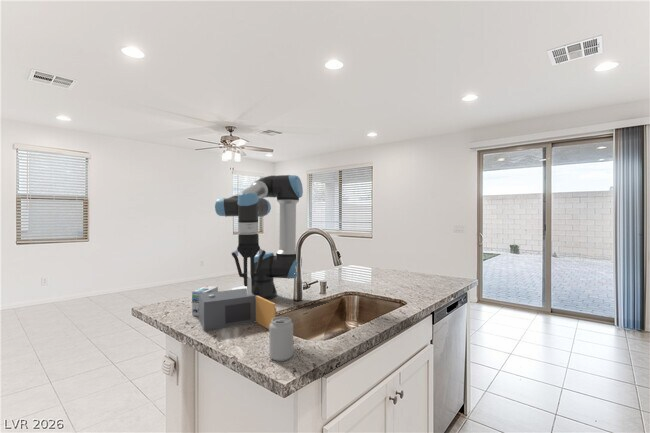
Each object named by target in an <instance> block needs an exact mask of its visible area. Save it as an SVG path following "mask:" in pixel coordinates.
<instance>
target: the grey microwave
mask: <svg viewBox="0 0 650 433" xmlns="http://www.w3.org/2000/svg"><path fill="white" fill-rule="evenodd" d="M198 321H199V323H200V325H201V327H202V329H203V330H202V331H203V332H208V331H213V330H218V329H223V328H224V329H225V328H230V327H235V326H241V325H246V324H252V323H256V321H255V295H254V294H252V295H247V287H246V288H238V289H228V290H220V291H218V292H211V293H202V294H199V316H198Z"/></svg>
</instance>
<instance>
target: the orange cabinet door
mask: <svg viewBox="0 0 650 433" xmlns="http://www.w3.org/2000/svg"><path fill="white" fill-rule="evenodd" d="M276 317H277V307H276V303H275V302H273V301H270V299H268V300H266V299H264V298H262V297H260V296H258V295H256V296H255V323H257V324H259V325H261V326H263V327H264V328H266V329H267V330H269V325H270V323H271V322H272V319H273V318H276Z"/></svg>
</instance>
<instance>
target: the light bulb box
mask: <svg viewBox="0 0 650 433" xmlns="http://www.w3.org/2000/svg"><path fill="white" fill-rule="evenodd" d="M218 290H219V287H218V286H212V285H211V286H209V285H204V286H202V287H200V288H197V289H196V290H193V291H191V316H193V317H194V316H195V317H197V316H198V317H199V294H202V293H211V292H219V291H218Z"/></svg>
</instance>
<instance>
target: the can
mask: <svg viewBox="0 0 650 433" xmlns="http://www.w3.org/2000/svg"><path fill="white" fill-rule="evenodd" d="M268 331H269V334H268V335H269V337H268V338H269V340H268V341H269V342H268V343H269V346H268V348H269V350H268V351H269V354H268V355H269V357H270V358H271V359H272V360H273V361H275V360H276V361H275V362H284V361H283V360H286V361H288V360H289V358H292V357H293V356H294V323H293V322H292V318H290V317H288V316H276V318H273V319H272V322H271V323H270V325H269V329H268ZM287 359H288V360H287Z"/></svg>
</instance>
